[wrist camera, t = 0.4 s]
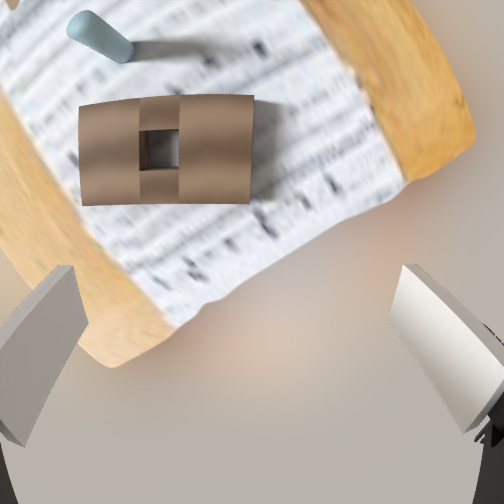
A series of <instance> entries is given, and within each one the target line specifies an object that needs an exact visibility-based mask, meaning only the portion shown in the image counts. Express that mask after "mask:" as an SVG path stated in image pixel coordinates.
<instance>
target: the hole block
mask: <svg viewBox="0 0 504 504" xmlns="http://www.w3.org/2000/svg"><path fill="white" fill-rule="evenodd" d="M253 112H254V95H234V94H196V95H171V96H156V97H144V98H134V99H126V100H118V101H110V102H103V103H97V104H91V105H85V106H80V107H79V122H78V142H79V171H80V186H81V198H82V206H98V205H127V204H250V182H251V159H252V135H253ZM157 130H179V167H149V168H148V156H147V135H148V131H157Z"/></svg>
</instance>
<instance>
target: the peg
mask: <svg viewBox="0 0 504 504" xmlns="http://www.w3.org/2000/svg"><path fill="white" fill-rule="evenodd" d="M67 35H68V36H69V37H70V38H72V39H74V40H76V41H78V42H80V43H82V44H84V45H86V46H88V47H89V48H91V49H93V50H95V51H97V52H99V53H101V54H103V55H104V56H106V57H108V58H110V59H112V60H113V61H115V62H117V63H125V62H127V61H128V60H130V59H131V58H132V56H133V55H134V51H135V48H134V46H133V44H132V43H130V42H129V41H128V40H127V39H126V38H124V37H123V36H122V35H121V34H120V33H118V32H117V31H116V30H115V29H114V28H112V27H111V26H110V25H109V24H107V23H106V22H105V21H104V20H102V19H101V18H100V17H98V16H97V15H96V14H95V13H93V12H92V11H89V10H85V11H81V12H79V13H78V14H76V15H75V16H74V17H73V18H72V19H71V20H70V22H69V24H68V26H67Z"/></svg>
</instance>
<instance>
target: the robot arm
mask: <svg viewBox="0 0 504 504" xmlns="http://www.w3.org/2000/svg"><path fill="white" fill-rule="evenodd" d="M388 321H389V322H390V324H391V325H392V326H393V328H394V329H395V331H396V332H397V333H398V335H399V336H400V338H401V339H402V341H403V342H404V343H405V345H406V346H407V347H408V349H409V351H410V352H411V353H412V355H413V356H414V358H415V359H416V361H417V362H418V364H419V365H420V367H421V368H422V370H423V371H424V373H425V374H426V376H427V377H428V379H429V380H430V382H431V383H432V385H433V387H434V388H435V390H436V391H437V393H438V394H439V396H440V398H441V399H442V401H443V402H444V404H445V405H446V407H447V409H448V410H449V412H450V413H451V415H452V417H453V419H454V420H455V422H456V424H457V425H458V427H459V429H460V431H461V432H462V434H463V433H466V432H468V431H470V430H472V429H474V428H476V427H477V426H478V425H479V424H480V423H481V422H482V420H483V419H484V418H485V417H486V415H488V416H489V418H490V421H489V422H488V423H487V424H486V426H485V427H484V428H483V429H482V430H481V431H480V432H479V434H478V435H477V436H476V438H475V440H474V442H477V441H478V440H479V439H480V438H481V437H482V435H483V434H485V437H484V438H483V439H482V440H481V441H480V443H482V444H484V447H483V454H482V461H481V467H480V472H479V477H478V482H477V487H476V491H475V495H474V499H473V503H472V504H504V344H503V343H501V340H500V339H499V338H497V336H496V337H495V334H494V333H493V332H492V331H491V330H490V329H489V328H488V327H487V326H486V325H484V324H483V323H481V322H480V321H479V320H478V319H477V318H476V317H475V316H474V315H473V314H472V313H471V312H470V311H469V310H468V309H467V308H466V307H465V306H464V305H462V303H461V302H459V301H458V300H457V299H456V298H455V297H454V296H453V295H452V294H451V293H450V292H449V291H448V290H447V289H445V288H444V287H443V286H442V285H441V284H440V283H439V282H438V281H437V280H435V279H434V278H433V277H432V276H431V275H430V274H429V273H427V272H426V271H425V270H424V269H423V268H422V267H420V266H419V265H418V264H403V267H402V271H401V275H400V279H399V283H398V286H397V290H396V294H395V297H394V301H393V305H392V308H391V311H390V314H389V318H388ZM87 325H88V320H87V317H86V313H85V310H84V307H83V303H82V300H81V296H80V292H79V288H78V284H77V280H76V276H75V272H74V268H73V266H68V265H58V266H57V267H56V268H55V269H54V270H53V271H52V272H51V273H50V274H49V275H48V276H47V277H46V278H45V279H44V280H43V281H42V282H41V283H40V284H39V285H38V286H37V287H36V288H35V289H34V290H33V291H32V292H31V293H30V294H29V295H28V296H27V297H26V298H25V299H24V300H23V301H22V302H21V303H20V304H19V306H18V307H17V308H16V309H15V310H14V311H13V312H12V313H11V314H10V315H9V317H8V318H7V319H6V320H5V321H4V322H3V323H2V325H1V326H0V432H1V433H2V434H3V435H4V436H5V437H6V439H7V440H9V441H11V442H13V443H15V444H17V445H20V446H22V447H25V445H26V443H27V441H28V438H29V436H30V434H31V431H32V429H33V427H34V425H35V423H36V420H37V418H38V416H39V414H40V412H41V410H42V408H43V406H44V403H45V401H46V399H47V397H48V395H49V393H50V391H51V389H52V387H53V386H54V383H55V381H56V380H57V378H58V376H59V374H60V372H61V370H62V368H63V367H64V365H65V363H66V361H67V359H68V358H69V356H70V354H71V352H72V350H73V349H74V347H75V345H76V343H77V342H78V340H79V338H80V337H81V335H82V333H83V332H84V330H85V328H86V327H87ZM0 504H18V502H17V499H16V496H15V493H14V491H13V487H12V484H11V481H10V478H9V475H8V471H7V468H6V464H5V460H4V456H3V452H2V449H1V443H0Z"/></svg>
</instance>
